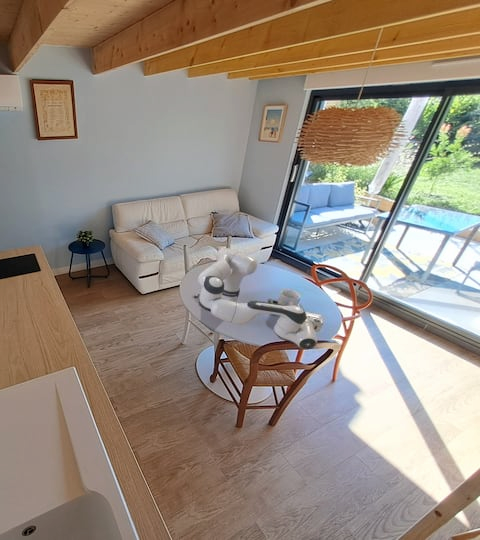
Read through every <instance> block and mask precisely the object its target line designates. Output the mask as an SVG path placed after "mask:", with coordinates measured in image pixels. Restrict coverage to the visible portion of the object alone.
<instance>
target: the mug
mask: <svg viewBox="0 0 480 540" xmlns="http://www.w3.org/2000/svg"><path fill="white" fill-rule="evenodd" d="M301 296H302V295H301V294H300V293H299V292H298V291H296V290H293V289H288V288H287V289H282V290H281V291H280V294H279V297H278V299H277V300H278V303H277V304H282V305H296V306H297V305H298V304H300V300H301Z"/></svg>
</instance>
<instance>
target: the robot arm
mask: <svg viewBox="0 0 480 540" xmlns="http://www.w3.org/2000/svg"><path fill="white" fill-rule="evenodd" d="M215 260H216V261H215V262H214V263H212V264H211V265H209V266H208V267H206V268H205V269H204V270H203V271H201V273H200V274H199V275H198V276H197V282H198V284H199V285H200V287H201V289H200V293H199V294H198V295H194V298H198V305H199V306H200V307H201V308H202V310H205V311H208V312H210V313H211V315H212V316H213V317H216V318H217V319H219V320H222V321H224V322H227V323H230V324H234V325H237V326H242V325H246V324H248V323H250V322H251V321H252V320H253V319H254V318H256V317H257V316H259V315H261V314H268V315H276V316H278V317H279V318H278V319H277V321H276V322H275V324H274V326H273V332H274V334H275V335H276V337H278V338H279V339H281V340H283V341H286V342H291V343H294V344H295V345H297V346H298V347H299V348H300V349H302V350H311V349H313V348H315V347H316V346H317V344H318V337H317V333H320V332H321V330H322V329H323V327H324V326H323V325H324V316H323V315H322V314H319V313H314V312H308V311H305V309H304V308H303V307H301V306H300V307H299V306H296V305H282V304H278V303H275V302H273V303H270V302H268V301H267V302H266V301H259V300H250V301H248V302H239V301H238V300H239V299H238V298H239V296H240V292H241V284H242V281H243V279H244V278H245V277H246V276H250V275H252V274H254V273H255V272H256V270H257V268H258V262H257V259H255V258H253V257H251V256H250V255H248V254H245V253H242V252H240V251H237V250H235V249H232V248H229V247H221V248H220V249H218V250H217V252H216V254H215Z"/></svg>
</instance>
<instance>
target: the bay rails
mask: <svg viewBox="0 0 480 540" xmlns="http://www.w3.org/2000/svg"><path fill="white" fill-rule="evenodd" d="M278 300H279V299H272V298H270V299H269V303H275V304H278ZM297 306H299V307H301V305H300V303H298V305H297Z"/></svg>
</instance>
